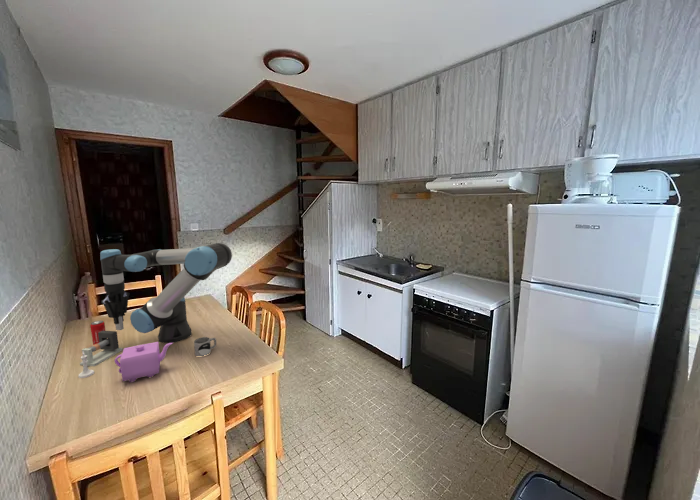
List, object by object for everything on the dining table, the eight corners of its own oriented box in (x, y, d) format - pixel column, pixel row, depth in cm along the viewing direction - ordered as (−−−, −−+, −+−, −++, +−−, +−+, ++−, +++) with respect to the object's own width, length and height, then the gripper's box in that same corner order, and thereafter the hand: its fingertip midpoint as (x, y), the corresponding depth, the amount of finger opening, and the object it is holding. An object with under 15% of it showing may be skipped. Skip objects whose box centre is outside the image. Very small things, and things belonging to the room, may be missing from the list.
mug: (199, 358, 132) (198, 345, 131) (192, 354, 136) (191, 340, 135) (220, 350, 140) (219, 337, 139) (213, 346, 144) (212, 333, 143)
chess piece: (93, 369, 123) (89, 347, 121) (95, 374, 120) (92, 351, 118) (77, 375, 119) (73, 352, 118) (79, 379, 116) (75, 356, 115)
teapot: (114, 387, 112) (110, 356, 110) (119, 373, 120) (115, 345, 118) (175, 372, 122) (172, 344, 120) (175, 361, 130) (173, 334, 128)
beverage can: (99, 348, 140) (95, 325, 139) (90, 347, 141) (87, 324, 140) (110, 343, 145) (106, 320, 144) (101, 342, 147) (98, 319, 145)
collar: (105, 346, 138) (102, 330, 136) (118, 347, 137) (116, 331, 136) (100, 349, 135) (97, 332, 134) (114, 350, 135) (112, 333, 133)
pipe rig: (109, 349, 140) (107, 334, 139) (122, 350, 139) (121, 335, 138) (80, 365, 126) (77, 349, 125) (94, 366, 126) (92, 350, 124)
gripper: (119, 278, 145) (124, 323, 148) (93, 285, 132) (100, 334, 136) (133, 279, 144) (138, 324, 147) (108, 286, 131) (114, 335, 135)
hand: (119, 329), depth 142 cm, fingers closed
